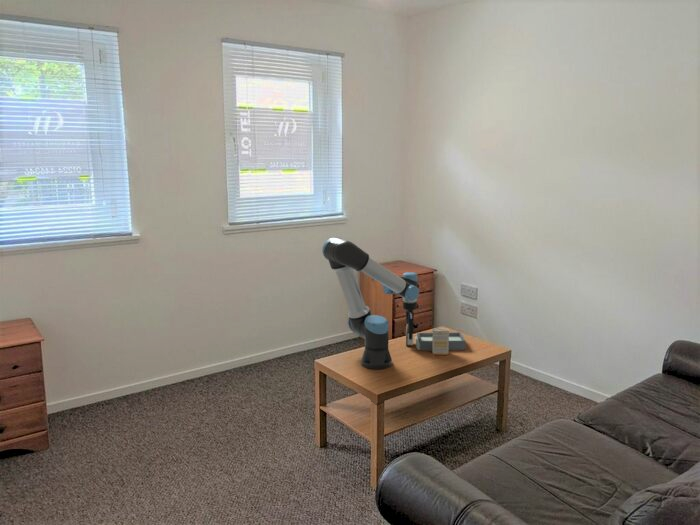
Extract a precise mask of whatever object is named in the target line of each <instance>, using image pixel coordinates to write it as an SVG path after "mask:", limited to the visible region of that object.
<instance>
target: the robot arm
mask: <svg viewBox="0 0 700 525" xmlns="http://www.w3.org/2000/svg"><path fill="white" fill-rule="evenodd" d="M322 255H323V257H324V259H326V260H328V263H329V266H330V269H331V270H333V271H335V274H336V276H337V279H338V282H339V285H340V288H341V291H342V294H343V296H344V299H345V302H346V305H347V308H348V310H349V311H348V313H347V317H348V318H347V326H348V328H349V329H350V331H351V332H353V334H354V335H357V336H359V337H360V338H362V339H364V350H363V353H362V356H361V358H360V359H361V365H362V367H365V369H370V370H383V369H388V368H389V367H392V364H393V359H392V356H391V352H390V350H389V329H390V326H389V321H388V319H387V318H386V317H384V316H382V315H377V314H372V310H371V309H370V307H369V306H367V305H366V304H365V300H364V296H363V295H362V292H361V289H360V285H359V282H358V279H357V276H356V274H355V271H357V272H362V273H364V275H367V276H369V277H370V278H372V279H373V280H374V281H377V282H378V283H379V284H382V290H383V293H385V295H392V294H394V295H396V296H399V297H401V298H402V309H403V310H405V325H406V324H408V332H407V334H408V345H412V346H413V345H414V332H415V331H414V317H415V314H414V310H417V308H418V297H419V294H420V291H419V288H418V274H417V273H416V272H411V271H406V272H404V273H403V274H402V277H401V276H398V275H397V274H396V273H394V272H393V271H391V270H389V269H388V268H387V267H385V266H383V265H381V264H380V263H378V262H377V261H375V260H374V259H372V258H371V257H370V255H369V253H367V252H366V251H364V250H363V249H362V248H360V247H359V246H357V245H356V244H355V243H354V242H352V241H349V240H346V239H342V238H341V237H331V238H328V239H327V240H326V241H325V242H324V244H323V246H322Z"/></svg>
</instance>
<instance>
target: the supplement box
mask: <svg viewBox="0 0 700 525" xmlns="http://www.w3.org/2000/svg"><path fill="white" fill-rule="evenodd" d="M449 332H450V330H449V328H441V327H440V328H439V327H437V328H436V327H433V328H432V333H433V334H432V350H431V351H432V355H438V356H442V355H443V356H447V355H448V356H449V353H450V352H449V351H450V350H449Z"/></svg>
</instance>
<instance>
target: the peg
mask: <svg viewBox="0 0 700 525" xmlns="http://www.w3.org/2000/svg"><path fill="white" fill-rule="evenodd" d="M407 332H408V324H406V323H405V340H406V341H405V346H406V347H408V348H411V347H413V345H408V334H407Z"/></svg>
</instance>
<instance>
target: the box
mask: <svg viewBox="0 0 700 525" xmlns="http://www.w3.org/2000/svg"><path fill="white" fill-rule="evenodd" d="M432 334H433V332H417V333H416V336H414V342H415V343H414V344H415V346H416V349H417V350H419V351H432ZM466 343H467V342H466V338H464V336H463V334H462V332H459V331H456V332H453V331H452V332H450V331H449V351H465V350H466V345H467V344H466Z"/></svg>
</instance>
